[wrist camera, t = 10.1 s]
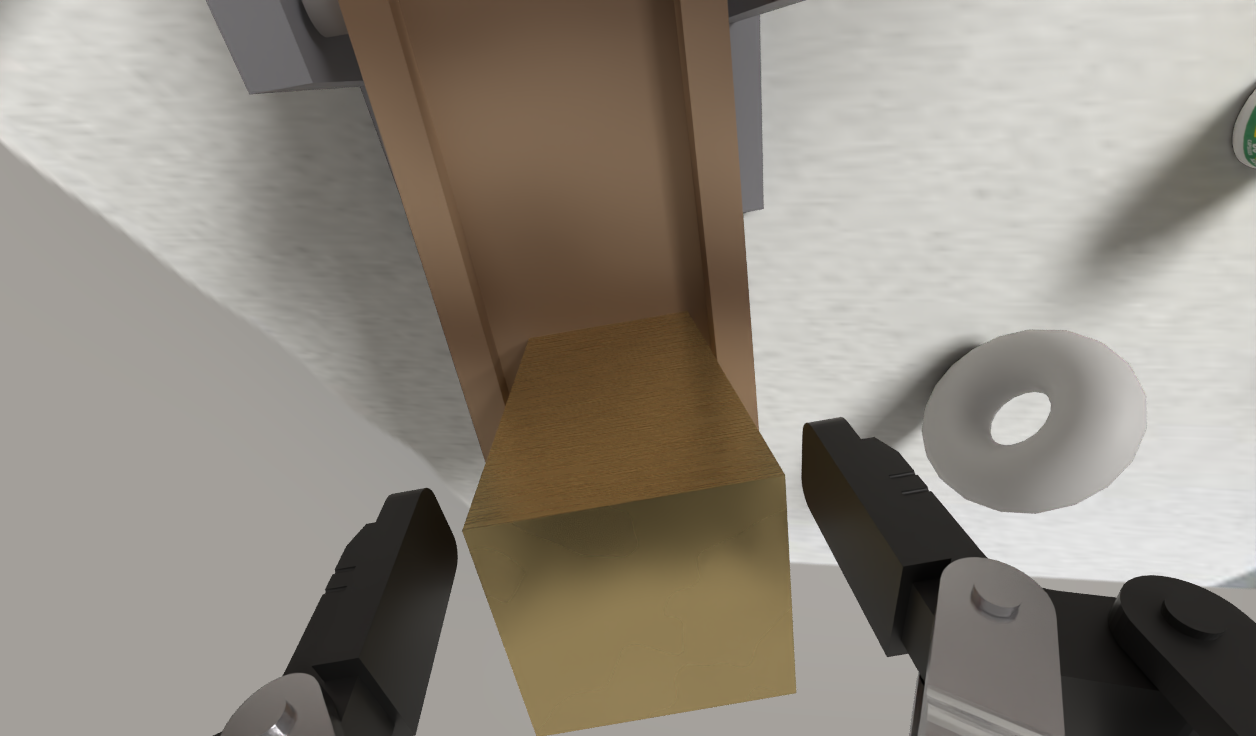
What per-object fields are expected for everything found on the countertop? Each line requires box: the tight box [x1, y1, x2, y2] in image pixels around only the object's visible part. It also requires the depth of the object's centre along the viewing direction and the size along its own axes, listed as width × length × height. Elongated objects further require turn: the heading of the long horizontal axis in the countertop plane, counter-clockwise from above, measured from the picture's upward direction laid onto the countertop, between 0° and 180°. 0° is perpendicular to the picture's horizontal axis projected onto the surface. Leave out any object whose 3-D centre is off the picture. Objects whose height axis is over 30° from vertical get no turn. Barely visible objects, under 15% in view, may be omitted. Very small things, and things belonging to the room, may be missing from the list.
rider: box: [462, 311, 796, 736], centre depth 12 cm, size 4×4×8 cm
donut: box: [922, 330, 1147, 514], centre depth 27 cm, size 10×4×10 cm, turn 148°
